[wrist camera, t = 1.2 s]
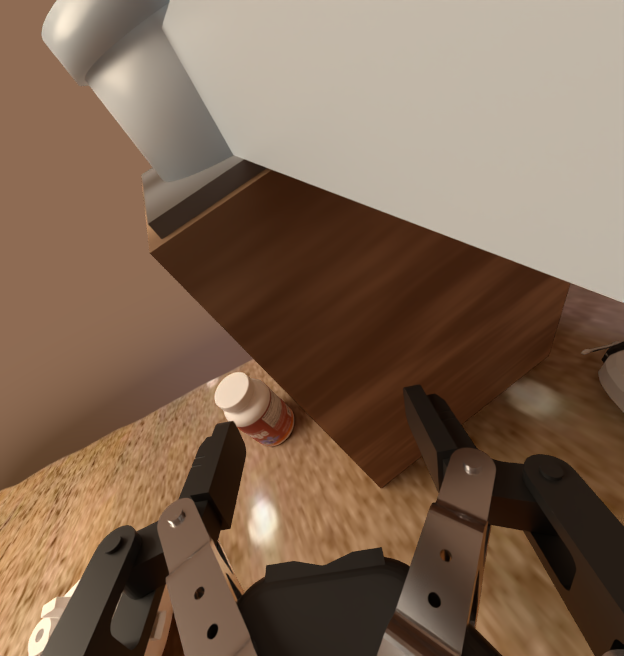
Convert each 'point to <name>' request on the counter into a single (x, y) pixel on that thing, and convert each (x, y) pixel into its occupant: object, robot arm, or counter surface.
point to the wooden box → (350, 302)
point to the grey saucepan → (385, 108)
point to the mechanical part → (158, 633)
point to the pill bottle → (254, 409)
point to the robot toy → (612, 371)
